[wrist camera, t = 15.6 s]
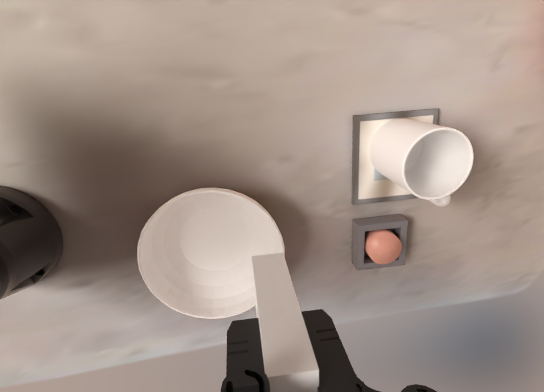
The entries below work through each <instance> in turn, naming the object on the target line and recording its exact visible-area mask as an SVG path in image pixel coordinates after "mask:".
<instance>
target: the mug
mask: <svg viewBox="0 0 544 392" xmlns="http://www.w3.org/2000/svg"><path fill="white" fill-rule="evenodd" d="M369 155H370V160H371V163H372V165H373V166H374V168H375V169H376V170H377V171H378V172H379V173H381V174H382V175H384V176H385V177H387V178H388V179H390V180H391V181H393V182H395V183H396V184H398V185H399V186H401V187H402V188H404V189H405V190H407V191H409V192H410V193H412V194H413V195H415V196H417V197H419V198H422V199H427V200H429V201H430V202H432V203H433V204H435V205H437V206H446V205H448V204H449V203H450V200H451V196H450V194H452V193H453V192H455V191H456V190H457V189H458V188H459V187H460V186H461V185H462V184H463V183H464V182H465V181H466V179H467V177H468V176H469V174H470V172H471V169H472V166H473V160H474V153H473V148H472V145H471V142H470V141H469V139H468V138H467V137H466V136H465V135H464V134H463V133H462V132H461V131H459V130H457V129H454V128H449V127H445V126H440V125H435V124H430V123H425V122H421V121H416V120H411V119H396V120H392V121H389V122H387V123H386V124H384V125H383V126H382V127H380V128H379V129H378V131H377V132H376V133H375V135H374V136H373V138H372V140H371V143H370V148H369Z"/></svg>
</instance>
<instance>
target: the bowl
mask: <svg viewBox="0 0 544 392" xmlns="http://www.w3.org/2000/svg"><path fill="white" fill-rule="evenodd" d="M276 253H283V254H284V257H285V247H284V243H283V238H282V235H281V233H280V231H279V229H278V227H277V225H276V223H275V221H274V219H273V218H272V217H271V216H270V214H269V213H268V212H267V210H266V209H265V208H263V207H262V206H261V205H260V204H259V203H257V202H256V201H255V200H253V199H251V198H250V197H248V196H246V195H244V194H242V193H239V192H236V191H233V190H230V189H222V188H199V189H195V190H191V191H187V192H184V193H182V194H180V195H178V196H175V197H173V198H172V199H170V200H169V201H168V202H166V203H165V204H163V205H162V206H161V207H160V208H159V209H157V211H156V212H155V213H154V214H153V215H152V216H151V217H150V218H149V219H148V221H147V223H146V224H145V226H144V228H143V230H142V232H141V235H140V238H139V241H138V245H137V261H138V266H139V271H140V273H141V276H142V278H143V280H144V283H145V284H146V285H147V287H148V288H149V290H150V291H151V292H152V294H153V295H155V296H156V297H157V298H158V299H159V300H160V301H161V302H162V303H164V304H165V305H167V306H168V307H170V308H171V309H173V310H175V311H178V312H180V313H182V314H185V315H189V316H193V317H197V318H208V319H215V318H226V317H230V316H234V315H238V314H240V313H243V312H245V311H247V310H250V309H251V308H253V307H254V306H256V305H255V293H254V280H253V266H252V256H257V255H267V254H276Z"/></svg>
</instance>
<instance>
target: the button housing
mask: <svg viewBox="0 0 544 392" xmlns="http://www.w3.org/2000/svg"><path fill="white" fill-rule="evenodd" d="M407 227H408V220H407V219H405V218H404V217H403V216H402V215H401V214H396V215H387V216H378V217H369V218H360V219H353V232H352V262H353V264H354V266H355V267H356V269H357V270H363V269H372V268H380V267H388V266H397V265H404V264H405V252H406V240H407ZM382 229H389V230H390V231H391V232H392V233H393V234H394V235H395V236H396V237H397V238H398V239H399V240H400V241H401V244H402V250H401V253H400V255H399V256H398V258H397V259H395V260H394V261H393V262H391V263H388V264H377V263H375V262H374V261H373V260H372V259H371V258H370V257H369V255H368V254H367V253H366V251H365V250H364V242H365V232H366V231H373V230H382Z"/></svg>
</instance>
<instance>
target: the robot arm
mask: <svg viewBox="0 0 544 392" xmlns="http://www.w3.org/2000/svg"><path fill="white" fill-rule="evenodd" d="M62 246H63V244H62V235H61V232H60V229H59V226H58V224H57V223H56V221H55V219H54V218H53V216H52V215H51V214H50V212H49V211H48V210H47V209H46V208H45V207H44V206H43V205H41V204H40V203H39V202H38V201H36V200H35V199H33V198H32V197H30V196H28V195H26V194H24V193H22V192H20V191H17V190H14V189H11V188H7V187H2V186H0V299H2V298H5V297H7V296H9V295H11V294H14V293H16V292H18V291H21V290H23V289H25V288H27V287H30V286H32V285H34V284H35V283H37V282H39V281H40V280H41V279H43V278H44V277H45V276H46V275H47V274H48V273H49V272H50V271H51V270H52V269H53V268H54V267H55V265H56V264H57V262H58V261H59V259H60V256H61V253H62ZM252 266H253V280H254V293H255V305H256V314H257V318H253V319H245V320H237V321H232V323H231V325H230V327H229V329H228V331H227V373H226V374H227V376H226V378H225V379H224V381H223V383H222V387H221V392H379V391H376V390H373V389H371V388H369V387H367V386H366V385H365V384H364V382H362V381H361V380H360V379H358V377H357V376H356V374H355V373H354V371H353V368H352V366H351V363H350V361H349V359H348V356H347V354H346V352H345V349H344V347H343V345H342V342H341V340H340V339H339V335H338V333H337V331H336V328H335V326H334V323H333V321H332V319H331V317H330V316H329V315H328V314H327V313H326V312H324V311H323V310H322V309H320V310H312V311H304V312H301V310H300V306H299V303H298V300H297V296H296V293H295V290H294V287H293V283H292V280H291V277H290V274H289V270H288V267H287V264H286V261H285V257H284V254H283V253H276V254H267V255H257V256H252ZM401 392H436V391H435V390H433V389H431V388H428V387H426V386H423V385H417V384H415V385H410V386H407V387H406V388H404V389H403V390H402V391H401Z"/></svg>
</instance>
